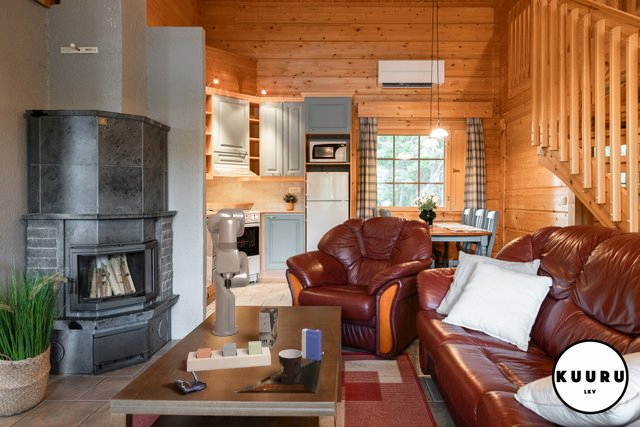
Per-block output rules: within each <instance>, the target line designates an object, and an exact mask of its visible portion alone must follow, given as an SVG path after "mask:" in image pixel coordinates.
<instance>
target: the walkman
mask: <svg viewBox="0 0 640 427" xmlns="http://www.w3.org/2000/svg"><path fill="white" fill-rule="evenodd" d="M301 352H302V359H305V360H312V361H320V360H321V359H322V330H320V329H311V328H303V329H302V330H301Z"/></svg>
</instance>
